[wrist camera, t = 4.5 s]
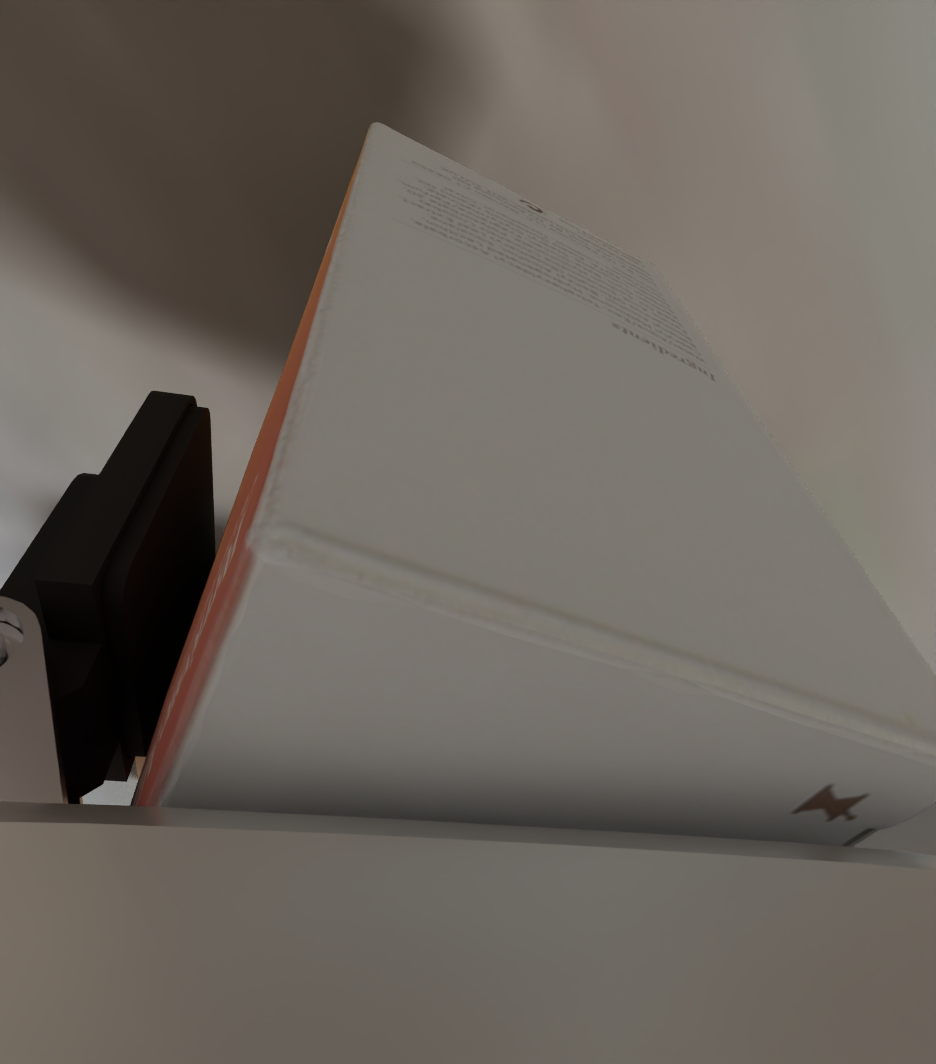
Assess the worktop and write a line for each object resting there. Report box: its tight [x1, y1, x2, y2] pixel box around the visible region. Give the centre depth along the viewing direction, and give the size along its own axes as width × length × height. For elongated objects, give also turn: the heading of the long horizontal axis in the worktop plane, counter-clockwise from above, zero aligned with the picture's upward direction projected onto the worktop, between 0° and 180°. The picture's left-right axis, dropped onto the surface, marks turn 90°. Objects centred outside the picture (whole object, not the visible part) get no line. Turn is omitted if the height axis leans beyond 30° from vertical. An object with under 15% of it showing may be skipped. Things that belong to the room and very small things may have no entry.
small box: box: [130, 122, 936, 847], centre depth 11 cm, size 8×6×10 cm
